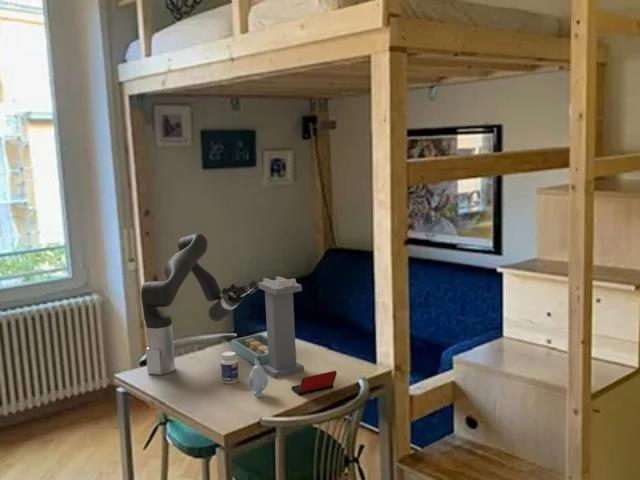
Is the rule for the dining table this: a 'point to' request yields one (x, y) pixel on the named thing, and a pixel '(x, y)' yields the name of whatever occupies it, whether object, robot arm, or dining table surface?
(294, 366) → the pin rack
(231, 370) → the pill bottle
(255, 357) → the teal tray
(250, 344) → the maple pin
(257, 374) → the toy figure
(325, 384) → the handheld game console
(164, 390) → the dining table surface
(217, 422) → the dining table surface
